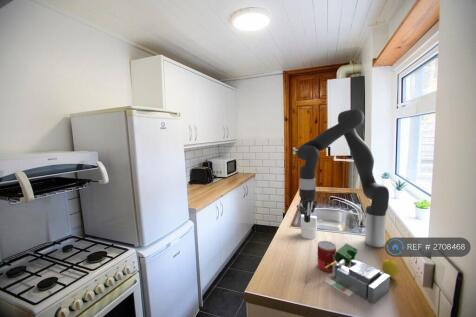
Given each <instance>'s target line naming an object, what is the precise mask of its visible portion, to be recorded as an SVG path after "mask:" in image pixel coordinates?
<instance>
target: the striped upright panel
mask: <svg viewBox="0 0 476 317" xmlns="http://www.w3.org/2000/svg"><path fill="white" fill-rule="evenodd" d="M323 281H324V283H326V284H328V285H329V286H331V287H333V288H334V289H336V290H338V291H339V292H341V293H343V294H345V295H346V296H348V297H351V296H352V295H353V294H355V293H354V292H352V291H350V290H349V289H347V288H346V287H344V286H342V285H340V284H339V283H337V282H336V281H335V280H332V279H331V278H329V277H327V278H326V279H325V280H323Z"/></svg>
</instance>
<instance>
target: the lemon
mask: <svg viewBox="0 0 476 317" xmlns="http://www.w3.org/2000/svg"><path fill="white" fill-rule="evenodd" d="M381 266H382V272H383V274H384V273H385V274H387V275H389V276H390V278H395V277H397V275H398V273H399V267H398V264H397V262H395V260H393V259H391V258H389V259H385V260H384V261H383V262H382V264H381Z"/></svg>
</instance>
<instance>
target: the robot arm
mask: <svg viewBox="0 0 476 317" xmlns="http://www.w3.org/2000/svg"><path fill="white" fill-rule="evenodd" d="M364 120H365V115H364V112H363V111H362V110H361V109H359V108H353V109H347V110H344V111H343V110H342V112H341V111H340V113H339V114H338V116H337V124H335V125H333V126H331V127H330V128H327V129H325V130H324V131H322V132H321V133H319V134H318V135H317V136H316V137H315V138H313V139H311V140H309V141H307V142H304V143H303V144H301V145H300V146H299V147H298V149H297V150H296V156H297V158H298V159H299V160H301V161H305V162H304V165H302V166H300V168H299V184H298V188H299V189H298V192H299V193H298V196H299V198H300V200H299V202H300V203H299V204H297V205H296V208H297V210H298V211H299V213H300V214H301V215H304V221H305V222H307V223H308V222H310V216H312V214H313V213H314V211H315V209H316V207H317V205H318V201H315V198H316V193H317V192H316V190H317V188H316V184H317V183H316V168H317V164H318V161H319V157H320V153H319V152H322V151H324V150H326V149H327V148H328V147H329V146H331V145H332V144H333V143H334V142H335V141H337V140H338V139H339V138H341V137H344V138H345V140H346V144H347V145H348V149H349V151H350V153H351V154H350V155H351V158H352V160H353V163H354V165H355V168H356V171H357V174H358V176H359V179H360V184H361V188H362V191H363V195H364V197H366V198H367V199H369V200H371V205H368V206H366V207H365V226H364V227H365V228H364V229H365V230H364V242H365V244H366V245H368V246H370V247H374V248H383V247H385V238H386V237H385V236H386V218H387V217H386V216H387V211H388V209H389V201H390V191H389V189H388V187H387V186H385V185H382V184H380V183H377V182H376V179H375V177H374V174H373V170H374V164H375V159H374V156H373V155H374V154H373V152H372V150H371V148H370V146H369V145H368V143H366V142H365V141H364V140H363V139H362V138H361V137H360V136H359V134H358V132H357V131H356V128H357V127H360V126H361V125H362V124H363V123H364Z"/></svg>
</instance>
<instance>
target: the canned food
mask: <svg viewBox="0 0 476 317" xmlns="http://www.w3.org/2000/svg"><path fill="white" fill-rule="evenodd" d="M336 252H337V245H336V244H335V243H333V242H331V241H327V240H323V241H322V240H320V241H319V242H317V267H318V268H319V270H321V271H322V272H325V273H333V266H331V267H329V268H327V269H326V268H325V267H326V266H327V265H329V264H331V263H333V262H334V261H336Z"/></svg>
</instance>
